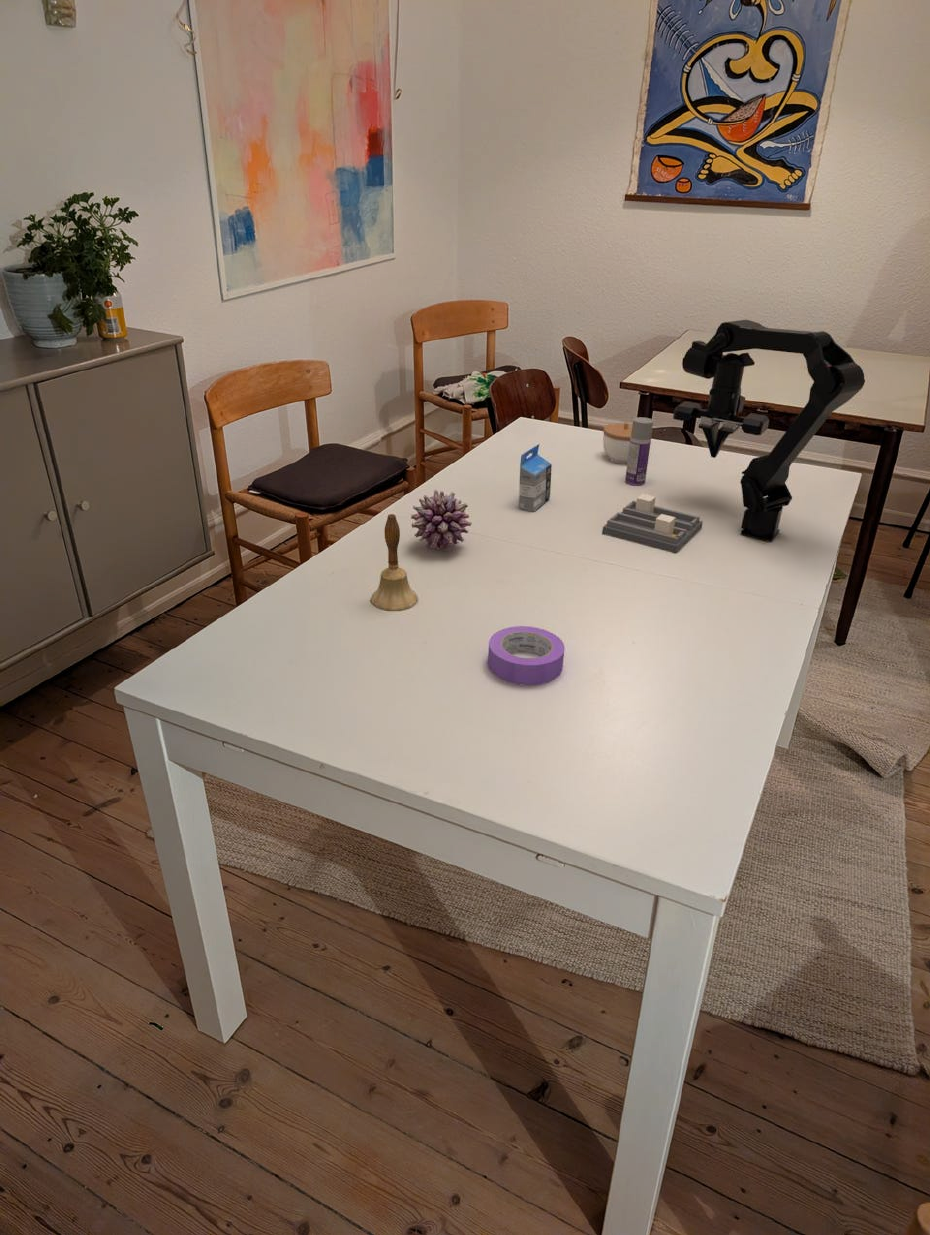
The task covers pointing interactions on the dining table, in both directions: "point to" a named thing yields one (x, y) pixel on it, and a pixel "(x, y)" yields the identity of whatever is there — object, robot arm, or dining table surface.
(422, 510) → the flower
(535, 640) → the masking tape
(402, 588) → the hand bell
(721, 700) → the dining table surface
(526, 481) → the label tape box
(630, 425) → the lidded jar
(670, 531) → the tab
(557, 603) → the dining table surface
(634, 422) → the container
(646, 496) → the beige rectangular block
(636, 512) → the switch bank
